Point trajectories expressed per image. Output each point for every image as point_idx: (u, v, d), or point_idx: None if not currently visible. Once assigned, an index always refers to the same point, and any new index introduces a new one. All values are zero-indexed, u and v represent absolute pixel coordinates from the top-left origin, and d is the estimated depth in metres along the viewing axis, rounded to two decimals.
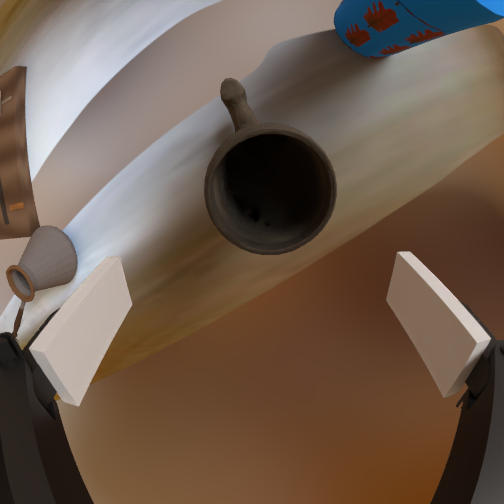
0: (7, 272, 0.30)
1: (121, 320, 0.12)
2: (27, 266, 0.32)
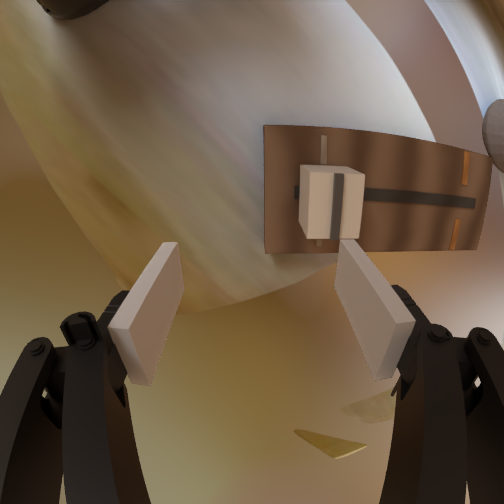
0: None
1: (177, 303, 0.13)
2: None
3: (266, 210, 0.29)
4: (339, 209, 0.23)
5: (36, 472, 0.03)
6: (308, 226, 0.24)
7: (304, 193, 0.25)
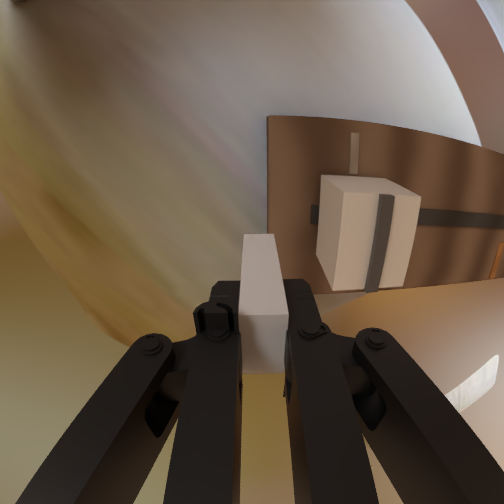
0: None
1: None
2: None
3: None
4: (383, 249, 0.15)
5: (118, 484, 0.04)
6: (335, 273, 0.16)
7: (329, 220, 0.17)
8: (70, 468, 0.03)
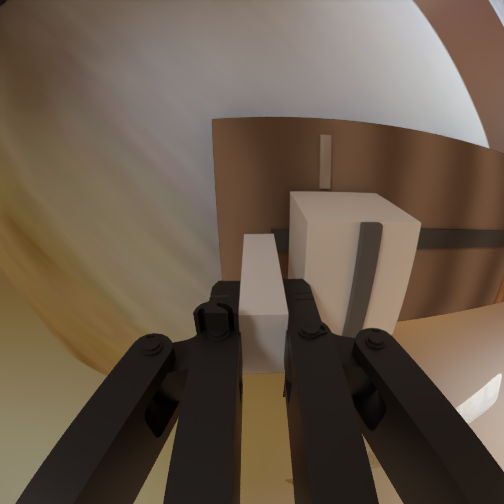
0: None
1: None
2: None
3: (223, 271, 0.17)
4: (365, 295, 0.11)
5: (118, 484, 0.04)
6: None
7: (296, 254, 0.13)
8: (70, 468, 0.03)
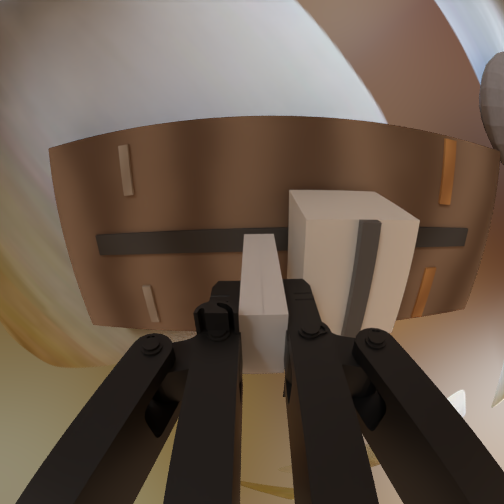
0: None
1: None
2: None
3: (74, 270, 0.17)
4: (364, 293, 0.11)
5: (118, 485, 0.04)
6: None
7: (295, 252, 0.13)
8: (70, 468, 0.03)
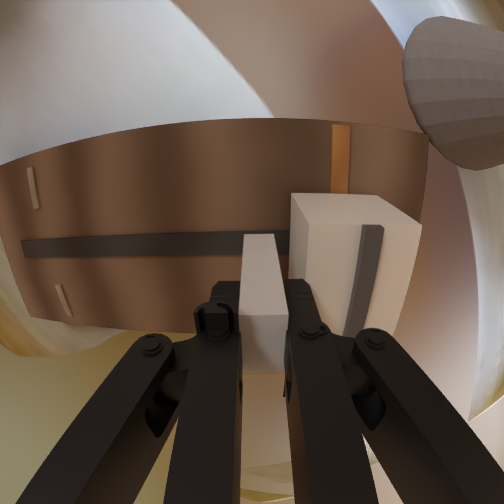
0: None
1: None
2: None
3: (12, 270, 0.17)
4: (366, 298, 0.11)
5: (118, 485, 0.04)
6: None
7: (297, 255, 0.13)
8: (71, 468, 0.03)
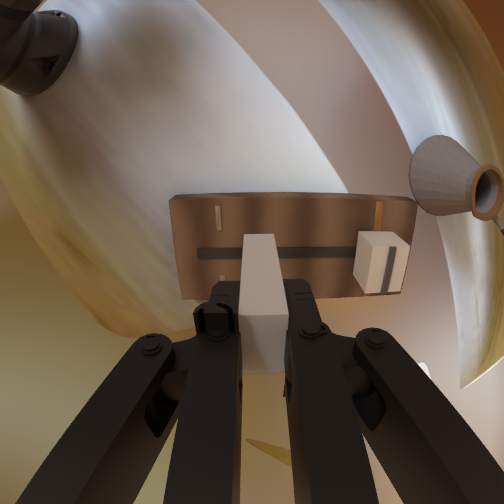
0: (475, 212, 0.22)
1: None
2: (469, 174, 0.22)
3: (177, 267, 0.36)
4: (390, 272, 0.29)
5: (118, 485, 0.04)
6: (366, 284, 0.30)
7: (363, 257, 0.32)
8: (70, 468, 0.03)
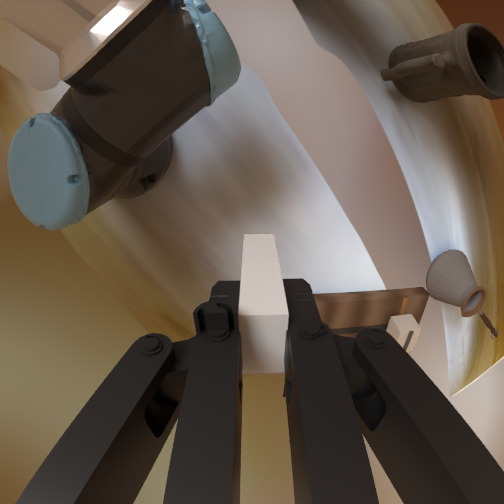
0: (463, 314, 0.38)
1: None
2: (464, 291, 0.38)
3: None
4: (407, 344, 0.45)
5: (118, 484, 0.04)
6: None
7: (392, 334, 0.47)
8: (70, 468, 0.03)
